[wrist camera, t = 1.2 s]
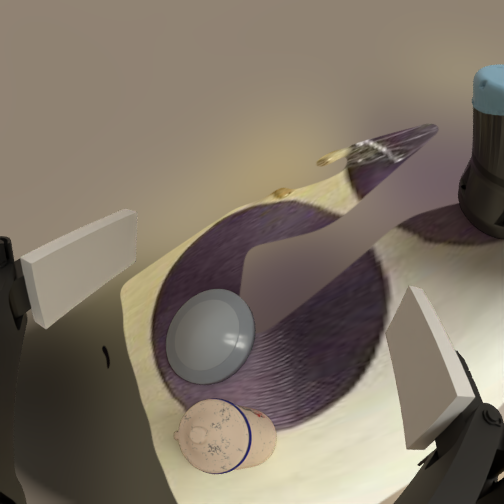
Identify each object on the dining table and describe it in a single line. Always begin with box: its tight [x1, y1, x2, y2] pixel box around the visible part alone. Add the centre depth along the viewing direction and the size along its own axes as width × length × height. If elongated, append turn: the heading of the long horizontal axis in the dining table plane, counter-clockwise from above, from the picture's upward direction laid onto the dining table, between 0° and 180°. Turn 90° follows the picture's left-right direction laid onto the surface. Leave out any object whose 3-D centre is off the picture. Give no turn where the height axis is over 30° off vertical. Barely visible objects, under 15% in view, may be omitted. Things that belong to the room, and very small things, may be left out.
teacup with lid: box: [174, 399, 277, 474], centre depth 28 cm, size 12×9×12 cm
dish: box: [166, 289, 255, 385], centre depth 44 cm, size 16×16×1 cm
